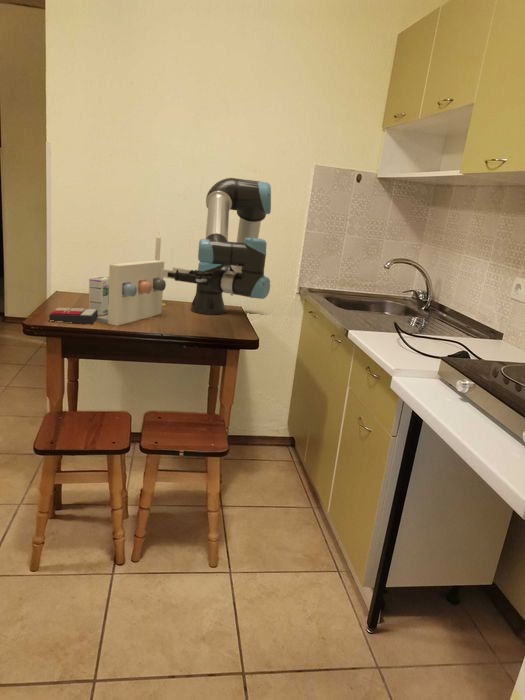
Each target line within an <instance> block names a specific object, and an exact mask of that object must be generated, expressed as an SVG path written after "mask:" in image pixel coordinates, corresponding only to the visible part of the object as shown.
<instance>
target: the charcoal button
mask: <svg viewBox="0 0 525 700" xmlns="http://www.w3.org/2000/svg"><path fill="white" fill-rule="evenodd" d="M166 285H167V284H166V280H164V279H163V280H160V279H153V289H154V290H160V291H165V289H166Z"/></svg>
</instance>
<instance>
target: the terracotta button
mask: <svg viewBox="0 0 525 700" xmlns="http://www.w3.org/2000/svg"><path fill="white" fill-rule="evenodd" d="M151 290H152V285H151V283H150V282H144V281H139V283H138V292H141V293H147V294H149V293H150V292H151Z"/></svg>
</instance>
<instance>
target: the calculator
mask: <svg viewBox="0 0 525 700" xmlns="http://www.w3.org/2000/svg"><path fill="white" fill-rule="evenodd" d="M48 317H49V320H48V321H50V320H54V321H63V322H72V323H71V324H77V323H81V324H80V325H85V324H91V325H90V326H93V325H94V324H95V323H96V322H97V317H99V315H98V310H96V309H89V308H87V309H86V308H85V307H83V308H80V307H76V308H75V307H72V308H70V307H57V308H56V309H54V310H53V311H51V312H50V314H49V315H48ZM94 322H95V323H94Z"/></svg>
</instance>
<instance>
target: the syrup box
mask: <svg viewBox="0 0 525 700" xmlns="http://www.w3.org/2000/svg"><path fill="white" fill-rule="evenodd" d="M107 277H108V276H100V275H99V276H97V275H96V276H93V277H89V278H88V281H89V282H88V309H96V310H98V316H100V317H102V316H105V315H108V304H109V278H107Z"/></svg>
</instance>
